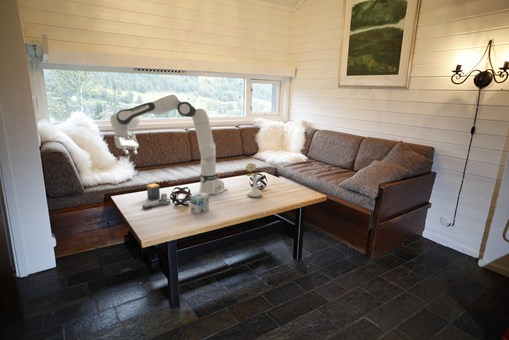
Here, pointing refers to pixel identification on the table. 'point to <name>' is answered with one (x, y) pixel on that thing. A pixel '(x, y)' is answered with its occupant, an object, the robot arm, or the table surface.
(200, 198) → the light bulb box
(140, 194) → the table surface
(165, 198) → the ratchet
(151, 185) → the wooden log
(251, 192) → the flower in vase
